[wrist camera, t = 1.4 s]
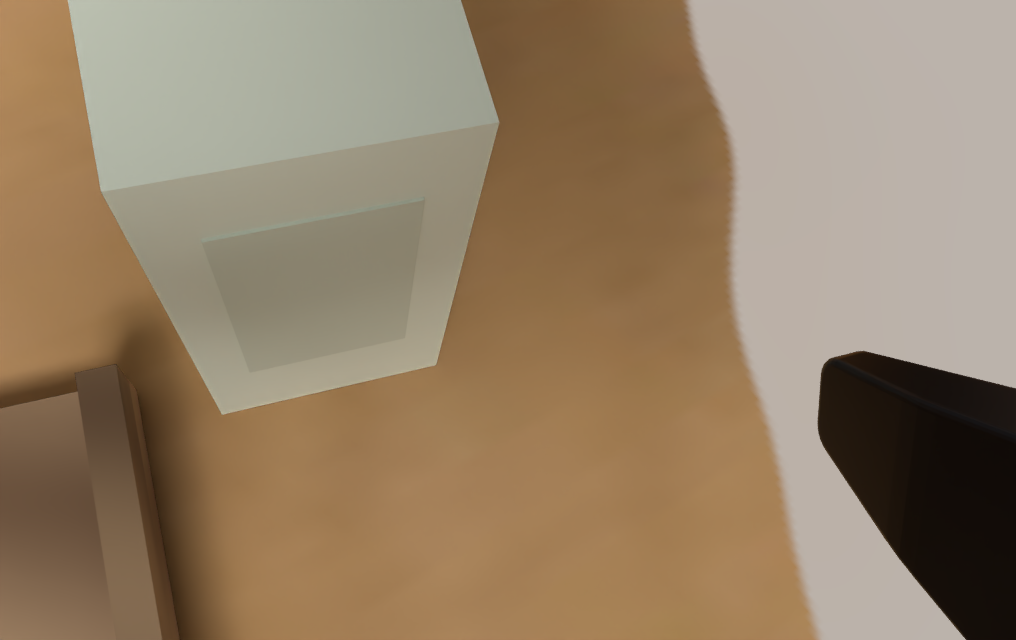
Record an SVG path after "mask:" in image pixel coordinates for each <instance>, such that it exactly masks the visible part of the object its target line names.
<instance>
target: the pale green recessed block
mask: <svg viewBox="0 0 1016 640" xmlns="http://www.w3.org/2000/svg"><path fill="white" fill-rule="evenodd" d="M68 4H69V10H70V16H71V22H72V27H73V33H74V39H75V45H76V50H77V56H78V62H79V68H80V73H81V79H82V85H83V91H84V96H85V102H86V108H87V114H88V120H89V125H90V131H91V137H92V143H93V148H94V154H95V160H96V166H97V171H98V177H99V183H100V189H101V193H102V195H103V197H104V198H105V200H106V202H107V204H108V206H109V208H110V209H111V211H112V213H113V215H114V217H115V219H116V220H117V222H118V224H119V226H120V228H121V230H122V231H123V233H124V235H125V237H126V239H127V241H128V243H129V244H130V246H131V248H132V250H133V252H134V254H135V255H136V257H137V259H138V261H139V263H140V265H141V266H142V268H143V270H144V272H145V274H146V276H147V277H148V279H149V281H150V283H151V285H152V287H153V289H154V290H155V292H156V294H157V296H158V298H159V300H160V301H161V303H162V305H163V307H164V309H165V311H166V312H167V314H168V316H169V318H170V320H171V322H172V323H173V325H174V327H175V329H176V331H177V333H178V335H179V336H180V338H181V340H182V342H183V344H184V346H185V347H186V349H187V351H188V353H189V355H190V357H191V358H192V360H193V362H194V364H195V366H196V368H197V369H198V371H199V373H200V375H201V377H202V379H203V381H204V382H205V384H206V386H207V388H208V390H209V392H210V393H211V395H212V397H213V399H214V401H215V403H216V404H217V406H218V408H219V410H220V412H221V414H222V415H223V414H228V413H232V412H236V411H241V410H245V409H249V408H253V407H258V406H262V405H266V404H271V403H275V402H279V401H284V400H288V399H292V398H297V397H301V396H305V395H310V394H314V393H318V392H323V391H327V390H331V389H336V388H340V387H344V386H349V385H353V384H357V383H361V382H366V381H370V380H374V379H379V378H383V377H387V376H392V375H396V374H400V373H405V372H409V371H413V370H418V369H422V368H426V367H431V366H435V365H436V364H437V360H438V356H439V352H440V348H441V344H442V340H443V337H444V333H445V329H446V325H447V321H448V317H449V314H450V310H451V306H452V302H453V298H454V294H455V291H456V287H457V283H458V279H459V275H460V271H461V267H462V264H463V260H464V256H465V252H466V248H467V244H468V241H469V237H470V233H471V229H472V225H473V221H474V218H475V214H476V210H477V206H478V202H479V198H480V195H481V191H482V187H483V183H484V179H485V175H486V171H487V168H488V164H489V160H490V156H491V152H492V148H493V145H494V141H495V137H496V133H497V129H498V125H499V120H498V116H497V113H496V110H495V107H494V104H493V101H492V97H491V94H490V91H489V88H488V85H487V82H486V78H485V75H484V72H483V69H482V66H481V62H480V59H479V56H478V53H477V50H476V47H475V43H474V40H473V37H472V34H471V31H470V28H469V24H468V21H467V18H466V15H465V12H464V9H463V5H462V2H461V0H68Z"/></svg>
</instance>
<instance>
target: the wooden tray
mask: <svg viewBox="0 0 1016 640" xmlns="http://www.w3.org/2000/svg"><path fill="white" fill-rule="evenodd" d="M75 378H76V384H77V392H73V393H68V394H64V395H59V396H55V397H50V398H45V399H41V400H36V401H32V402H27V403H23V404H18V405H13V406H9V407H4V408H0V640H180V637H179V632H178V626H177V620H176V614H175V609H174V603H173V597H172V591H171V586H170V580H169V574H168V568H167V563H166V557H165V551H164V545H163V540H162V534H161V528H160V522H159V516H158V511H157V505H156V499H155V493H154V488H153V482H152V476H151V470H150V465H149V459H148V453H147V447H146V442H145V436H144V430H143V424H142V419H141V413H140V407H139V401H138V396H137V390H136V389H135V388H134V386H133V385H132V384H131V383H130V381H129V380H128V379H127V378H126V376H125V375H124V374H123V373H122V371H121V370H120V369H119V368H118V366H117V365H116V364H114V365H109V366H105V367H100V368H95V369H91V370H86V371H81V372H77V373H75Z"/></svg>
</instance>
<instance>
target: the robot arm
mask: <svg viewBox="0 0 1016 640" xmlns="http://www.w3.org/2000/svg"><path fill="white" fill-rule="evenodd" d="M818 431H819V436H820V440H821V442H822V444H823V446H824V448H825V450H826V451H827V453H828V454H829V456H830V457H831V459H832V460H833V462H834V463H835V465H836V466H837V468H838V469H839V471H840V472H841V474H842V475H843V477H844V478H845V480H846V481H847V483H848V484H849V486H850V487H851V489H852V490H853V492H854V493H855V495H856V496H857V497H858V499H859V501H860V502H861V504H862V505H863V507H864V508H865V510H866V511H867V513H868V514H869V515H870V517H871V518H872V520H873V522H874V523H875V525H876V526H877V528H878V529H879V530H880V532H881V533H882V535H883V536H884V538H885V539H886V541H887V542H888V543H889V545H890V546H891V548H892V549H893V551H894V552H895V553H896V555H897V556H898V558H899V559H900V560H901V561H902V563H903V564H904V565H905V566H906V568H907V569H908V570H909V572H910V573H911V574H912V575H913V577H914V578H915V579H916V580H917V581H918V583H919V584H920V585H921V586H922V587H923V589H924V590H925V591H926V592H927V593H928V595H929V596H930V597H931V598H932V599H933V601H934V602H935V603H936V604H937V605H938V607H939V608H940V609H941V610H942V611H943V613H944V614H945V615H946V616H947V618H948V619H949V620H950V621H951V622H952V623H953V625H954V626H955V627H956V628H957V630H958V631H959V632H960V633H961V634H962V636H963V637H964V638H965V639H966V640H1016V388H1012V387H1007V386H1004V385H1000V384H996V383H992V382H988V381H983V380H979V379H975V378H971V377H967V376H963V375H959V374H955V373H951V372H947V371H943V370H939V369H935V368H931V367H927V366H923V365H919V364H915V363H911V362H907V361H903V360H899V359H894V358H890V357H886V356H882V355H878V354H874V353H870V352H866V351H858V352H853V353H849V354H846V355H841V356H838V357H834V358H831V359H829V360H828V361H827V362H826V363H825V364H824V366H823V368H822V372H821V382H820V396H819V410H818Z"/></svg>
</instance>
